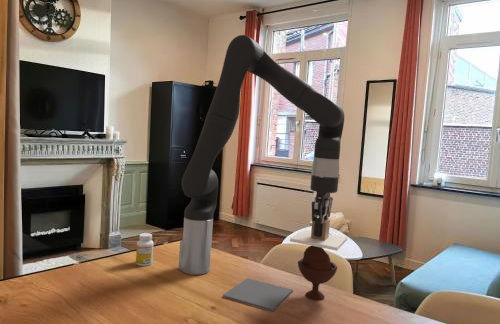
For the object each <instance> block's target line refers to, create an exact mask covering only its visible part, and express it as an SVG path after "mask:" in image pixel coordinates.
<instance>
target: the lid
mask: <svg viewBox="0 0 500 324" xmlns="http://www.w3.org/2000/svg"><path fill="white" fill-rule="evenodd" d="M314 224H315V223H314V222H313V221H312V220H311V230H309V229H303V230H301V231H300V232H298V233H296V234H295V235H293V236H292V237H290V239H289V242H292V243H297V244H302V245H307V246H316V247H321V248H323V249H326V250H332V251H336V252H337V251H339V249H340V248H341V247H342V246H343V245H344V244H345V243H346V242H347V241H348V237H347V236H343V235H342V236H341V235H337V234H332V233H331V234H330V224H331V220H330V219H328V220H324V222H323V229H322V236H321V237H316V236H314Z"/></svg>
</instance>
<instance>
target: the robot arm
mask: <svg viewBox="0 0 500 324" xmlns="http://www.w3.org/2000/svg"><path fill="white" fill-rule="evenodd" d="M227 46H228V47H227V49H226V53H225V57H224V61H223V66H222V70H221V74H220V77H219V80H218V82H217V86H216V89H215V92H214V95H213V98H212V101H211V103H210V106H209V109H208V110H207V114H206V117H205V120H204V122H203V123H204V124H203V125H202V130H201V132H200V134H199V137H198V140H197V142H196V143H197V144H196V146H195V149H194V152H193V153H192V156H191V159H190V161H189V163H188V165H187V166H186V169H185V171H184V173H183V176H182V178H181V189H182V191H183V193H184V195H185V196H186V197H188V198H191V200H190V202H189V203H188V205H187V206H186V207H185V209H184V212H183V213H184V214H183V216H184V217H183V231H182V233H183V234H182V239H180V241H179V255H178V256H179V257H178V270H180V271H182V273H183V274H188V275H196V276H197V275H204V274H207V273H209V272H210V271H211V258H212V255H211V254H212V243H213V242H212V239H213V223H214V214H215V211H216V208H217V202H218V193H219V179H218V176H217V173H216V172H215V171H214V170H213V169H212V168H213V165H214V163H215V161H216V158H217V157H218V155H219V154H220V153H221V151H222V150H223V148H225V146H226V144H227V143H228V142H229V140H230V139H231V137H232V135H233V132H234V130H235V128H236V124H237V122H238V120H239V115H240V107H241V92H242V85H243V82H244V79H245V77H246V75H247V73H251V75H254V76H256V77H259V78H260V79H262V80H263V81H265V82H266V83H268V84H269V85H270V86H271V87H272V88H274V89H275V90H276V91H277V93H279V95H281V96H282V98H283V97H284V99H286V100H287V101H289V102H290V103H291V104H292V105H294V106H295V107H296V108H298V109H299V110H301V111H303V112H305V114H306V115H308V116H309V118H311V119H312V120H313V121H315V122H316V123H317V124H319V127H318V134H317V135H318V137H317V138H316V140H315V142H314V143H315V144H314V151H313V152H314V153H313V159H312V160H313V161H312V165H311V174H310V175H311V177H310V186H309V187H310V190H311V191H312V192H315V193H316V195H315V197H314V199H313V201H311V222H312V221H313V222H314V223H315V224H314V236H316V237H321V236H322V229H323V222H324V220H330V219H329V218H330V217H331V211H332V205H333V199H334V198H333V197H332V196H331V194H336V193H337V192H338V190H339V187H338V186H339V179H340V177H339V176H340V156H341V140H342V136H343V131H344V124H345V111H344V110H343V108H342V107H341V106H340V105H339V104H338V103H335V102H334V101H333V100H332V99H329V98H328V97H327V96H325V95H323V94H322V93H320V92H318V90H317V89H316V88H315V87H313V86H312V85H310V84H309V83H308V82H306V81H305V80H304V79H303V78H301V77H299V76H297V75H296V74H295V73H293V72H291V71H289V70H287V69H286V68H284V67H283V66H281V65H280V64H279V63H278V62H276V61H275V60H274V59H273V58H272V57H271V56H270V55H269V54H268V53H267V52H266V51H265V50H264V49H263V47H262V46H261V45H260V44H259V43H258V42H257V41H256V40H254V39H253V38H252V37H250V36H248V35H246V34H240V35H239V34H238V35H237V36H235V37H234V38H233V39H232V40H231V41H230V42H229V44H228V45H227Z"/></svg>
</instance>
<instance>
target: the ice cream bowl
mask: <svg viewBox="0 0 500 324" xmlns="http://www.w3.org/2000/svg"><path fill="white" fill-rule="evenodd" d="M297 265H298V270H299V272H300V273H301V275H302V276H303V277H304V279H305V280H307V282H310V283H311V284H312V287H311V288H312V289H310V290H308V291H307V292H306V293H305V295H304V296H305V297H306V299H308V300H311V301H316V302H320V301H323V300H324V299H326V298H325V295H324V294H323V293H322V292H321V291H320V290H319V287H320V284H321V285H323V284H325V283H327V282H329V281H330V280H331V279H332V278H333V277H334V276H335V274H336V273H337V270H338V266H337V265H336V264H335V263H334V262H333V261H331V258H330V255H329V254H328V253H327V252H326V251H325V248H321V247H316V246H311V245H308V247H307V248H305V250H304V253H303V257H302V258H301V259H300V260H298V261H297Z"/></svg>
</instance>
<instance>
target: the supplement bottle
mask: <svg viewBox="0 0 500 324" xmlns="http://www.w3.org/2000/svg"><path fill="white" fill-rule="evenodd" d="M138 239H139V240H138V241H137V242H136V254H135V264H136V265H138V266H141V267H145V266H151V265H152V264H154V263H153V262H154V243H155V242H154V241H153V240H152V239H153V234H152V233H149V232H144V233H140V234H139V238H138Z"/></svg>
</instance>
